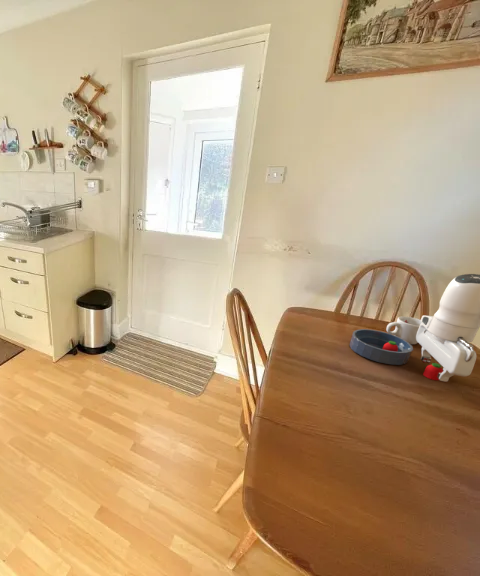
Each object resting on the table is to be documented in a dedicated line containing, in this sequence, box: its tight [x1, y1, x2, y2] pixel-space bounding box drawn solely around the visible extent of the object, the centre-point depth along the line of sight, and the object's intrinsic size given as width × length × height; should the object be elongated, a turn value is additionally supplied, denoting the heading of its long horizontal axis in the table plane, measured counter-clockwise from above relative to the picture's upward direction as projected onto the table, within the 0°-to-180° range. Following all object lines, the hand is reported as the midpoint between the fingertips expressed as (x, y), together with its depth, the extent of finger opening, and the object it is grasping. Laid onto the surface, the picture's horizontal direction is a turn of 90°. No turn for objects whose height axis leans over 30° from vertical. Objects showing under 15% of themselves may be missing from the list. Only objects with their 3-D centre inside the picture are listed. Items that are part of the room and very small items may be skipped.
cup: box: [385, 315, 422, 345], centre depth 112 cm, size 11×8×8 cm
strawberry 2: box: [422, 362, 444, 381], centre depth 93 cm, size 4×4×4 cm
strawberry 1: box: [383, 341, 398, 352], centre depth 104 cm, size 4×4×4 cm
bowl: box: [348, 328, 414, 366], centre depth 105 cm, size 15×15×5 cm
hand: (432, 370), depth 93 cm, fingers open, 8 cm apart
